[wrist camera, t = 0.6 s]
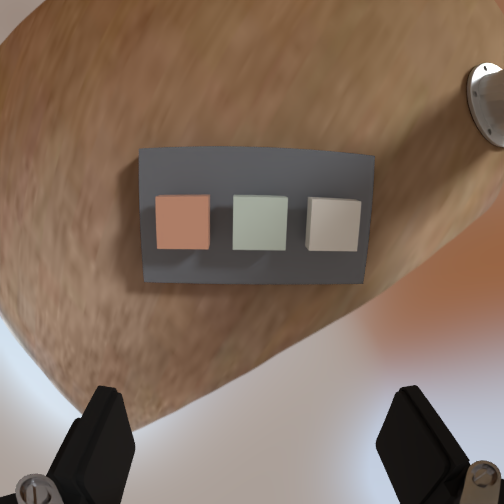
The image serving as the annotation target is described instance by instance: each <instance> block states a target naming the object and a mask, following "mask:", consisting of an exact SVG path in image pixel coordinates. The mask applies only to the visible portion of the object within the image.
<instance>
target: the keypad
mask: <svg viewBox="0 0 504 504" xmlns="http://www.w3.org/2000/svg"><path fill="white" fill-rule="evenodd" d="M374 163H375V156H371V155H363V154H353V153H343V152H332V151H320V150H307V149H291V148H270V147H228V146H205V147H164V148H144V149H139V208H140V231H141V249H142V263H143V275H144V282H160V283H200V284H363V281H364V274H365V267H366V259H367V250H368V242H369V232H370V222H371V210H372V198H373V183H374ZM159 195H210V246H209V249H157V234H156V203H155V197H156V196H159ZM234 195H271V196H286V197H287V198H288V209H287V230H286V250H233V196H234ZM308 197H322V198H341V199H355V200H358V201H361V214H360V226H359V236H358V246H357V251H309V250H308V249H307V248H306V246H305V239H306V223H307V205H308Z"/></svg>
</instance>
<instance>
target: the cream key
mask: <svg viewBox="0 0 504 504" xmlns="http://www.w3.org/2000/svg"><path fill="white" fill-rule="evenodd" d="M360 214H361V201H358V200H355V199H341V198H322V197H308V205H307V223H306V239H305V246H306V248H307V249H308V250H309V251H357V246H358V236H359V226H360Z"/></svg>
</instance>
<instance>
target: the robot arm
mask: <svg viewBox="0 0 504 504" xmlns="http://www.w3.org/2000/svg"><path fill="white" fill-rule="evenodd" d="M467 97H468V104H469V107H470V111H471V114H472V116H473V119H474V121H475V123H476V125H477V127H478V129H479V130H480V132H481V133H482V135H483V136H484V137H485V138H486V139H487V140H488V141H489V142H490V143H492V144H493V145H496V146H498V147H504V69H503V70H502V69H501V68H500V67H498V66H496V65H494V64H491V63H483V64H479V65H477V66H475V67H474V68H473V69H472V71H471V73H470V74H469V78H468V83H467ZM376 449H377V451H378V454H379V456H380V458H381V461H382V463H383V465H384V467H385V470H386V472H387V474H388V477H389V479H390V481H391V483H392V485H393V488H394V490H395V493H396V495H397V497H398V500H399V502H400V504H504V479H501V473H500V471H499V469H498V468H497V466H496V465H495V464H493V463H492V462H489V461H483V460H481V461H476V462H475V463H473V464H472V465H470V463H469V459H468V457H467V456H466V454H465V453H464V451H463V450H462V449H461V447H460V445H459V444H458V442H457V441H456V440H455V438H454V437H453V435H452V434H451V432H450V431H449V429H448V428H447V427H446V425H445V424H444V422H443V421H442V419H441V418H440V416H439V415H438V414H437V413H436V411H435V410H434V408H433V407H432V405H431V404H430V402H429V401H428V400H427V398H426V397H425V396H424V394H423V393H422V391H421V390H420V389H419V387H418V386H416V385H413V386H407V387H402V388H400V390H399V391H398V392H396V394H395V396H394V398H393V401H392V404H391V406H390V409H389V411H388V414H387V416H386V419H385V421H384V423H383V426H382V428H381V430H380V433H379V435H378V437H377V440H376ZM134 453H135V442H134V438H133V435H132V431H131V428H130V424H129V421H128V417H127V413H126V410H125V406H124V402H123V398H122V394H121V393H117V390H116V388H112V387H106V386H98V387H97V389H96V391H95V392H94V394H93V396H92V398H91V400H90V402H89V404H88V406H87V407H86V409H85V411H84V413H83V415H82V417H81V418H77V419H75V421H74V422H73V424H72V425H71V427H70V429H69V431H68V433H67V435H66V437H65V439H64V441H63V443H62V445H61V447H60V449H59V451H58V453H57V455H56V457H55V459H54V461H53V463H52V465H51V467H50V469H49V471H48V473H47V475H46V476H44V475H41V474H30V475H27V476H24V477H23V478H22V479H20V480H19V482H18V484H17V485H16V490H15V492H16V493H14V494H10V495H7V496H3V497H0V504H120V503H121V499H122V495H123V492H124V488H125V485H126V481H127V477H128V474H129V470H130V467H131V463H132V459H133V456H134Z"/></svg>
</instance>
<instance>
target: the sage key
mask: <svg viewBox="0 0 504 504" xmlns="http://www.w3.org/2000/svg"><path fill="white" fill-rule="evenodd" d="M287 209H288V198H287V197H286V196H271V195H234V196H233V250H286V230H287Z"/></svg>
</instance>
